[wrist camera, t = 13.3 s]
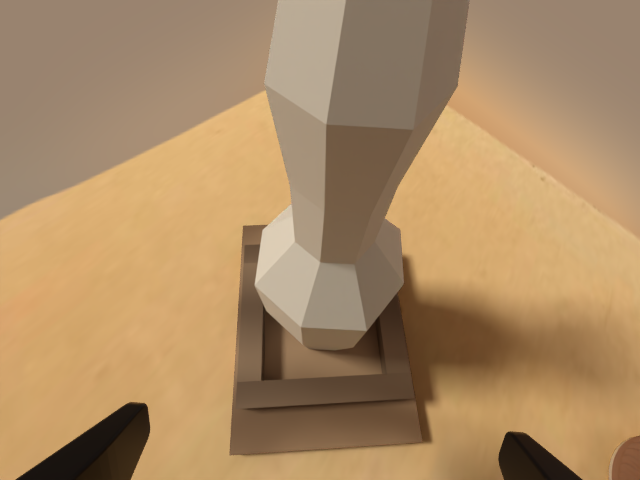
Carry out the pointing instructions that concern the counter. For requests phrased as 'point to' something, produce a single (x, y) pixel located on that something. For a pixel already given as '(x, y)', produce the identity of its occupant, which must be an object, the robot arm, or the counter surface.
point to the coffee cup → (626, 460)
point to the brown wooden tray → (316, 380)
